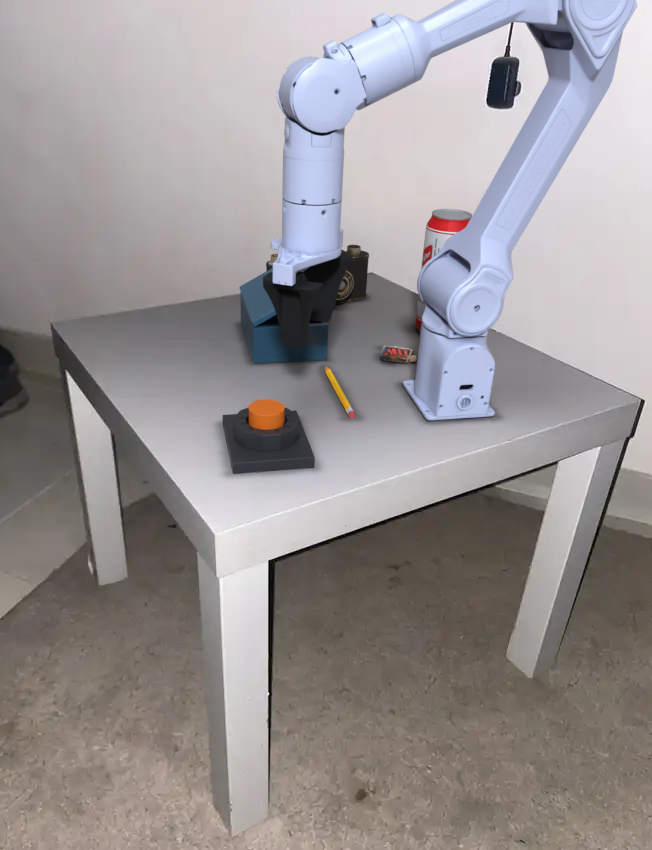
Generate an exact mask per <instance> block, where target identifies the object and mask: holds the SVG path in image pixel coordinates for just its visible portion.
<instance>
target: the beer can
mask: <svg viewBox="0 0 652 850" xmlns="http://www.w3.org/2000/svg"><path fill="white" fill-rule="evenodd" d="M472 215H473V213H471V212H470V211H467V210H463V209H456V208H439V209H434V210H432V211H431V217H430V218H429V220H428V221H427V222H426V226H425V232H424V242H423V251H422V259H421V267H420V268H421V269H422V268H423V266H424V265H425V264H426V263H427V262H428V261H429V260H430V259H431V258H433V257H434V256H435V255H436V254H438V253H439V251H440V250H441V249H442V247H443V246H444V244H445V242H446V240H447V239H448V238H449V237H451V236H453V235H454V234H456V233H458V232H460V231H461V230H463V229H464V228H465V227H466V226H467V224H468V223H469V221H470V219H471V217H472ZM421 269H420V270H421ZM416 303H417V305H416V313H415V327H416V329H417V330H418V331H419V333H421V324H422V316H423V314H424V310H425V303H424V302H423V301H422V299H421V298H420V296H419V294H417V302H416Z"/></svg>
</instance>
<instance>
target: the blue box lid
mask: <svg viewBox="0 0 652 850" xmlns="http://www.w3.org/2000/svg"><path fill="white" fill-rule="evenodd" d="M270 272H273V268H271V269H270V270H268V271H266V270H265V272H263V273H261V274H259V275H257V276H256V277H253V278H252V279H251V280H249V281H247V282H245V283H243V284H242V285H240V286H239V291H240V292H241V294H242V296H243V299H244V302H245V305H246V308H247V311H248V313H249V316H250V319H251V322H252V324H253V326H254V327H256V326H257V325H259V324H261V323H263V322H264V321H266V320H268V319H270V318H271V317H273V316H275V315H276V312H275V309H274V306H273V304H272V302H271V300H270V298H269V296H268V294H267V292H266V291H265V289H264V288H263V277H264V276H265V275H267V274H268V273H270ZM304 278H305V276H304Z"/></svg>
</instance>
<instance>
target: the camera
mask: <svg viewBox="0 0 652 850" xmlns="http://www.w3.org/2000/svg"><path fill="white" fill-rule="evenodd" d="M361 248H362V246H361V245H358V244H348V245H347V246H346V250H344V249H341V252H347V253H351V254H352V255H353V260H352V262H351V264H350V266H349V267H348V269H347V271H346V273H345V275H344V277H343V280H342V282H341V285H340V288H339V291H338V294H337V298H336V302H335V305H340V304H347V303H353V302H359V301H364V300H366V298H367V284H368V270H369V258H370V253H369V252H368V251H365V250H362V249H361ZM277 258H278V253H273V254H270V260H268V261H266V262H265V268H266V270H265V272H266V271H268V270H270V269H271V268H273V263H274V262H275V261H276V260H277Z"/></svg>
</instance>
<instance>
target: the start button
mask: <svg viewBox="0 0 652 850" xmlns="http://www.w3.org/2000/svg"><path fill="white" fill-rule="evenodd" d="M248 407H249V425H250V426H251V427H253V428H258V429H263V430H269V429H277V428H279V427H282V426H283V425H284V421H285V408H286V407H285V405H284V403H282V402H281V401H279V400H275V399H270V398H269V399H268V398H266V399H265V398H264V399H257V400H255V401H252V402H250V403H249V405H248Z"/></svg>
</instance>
